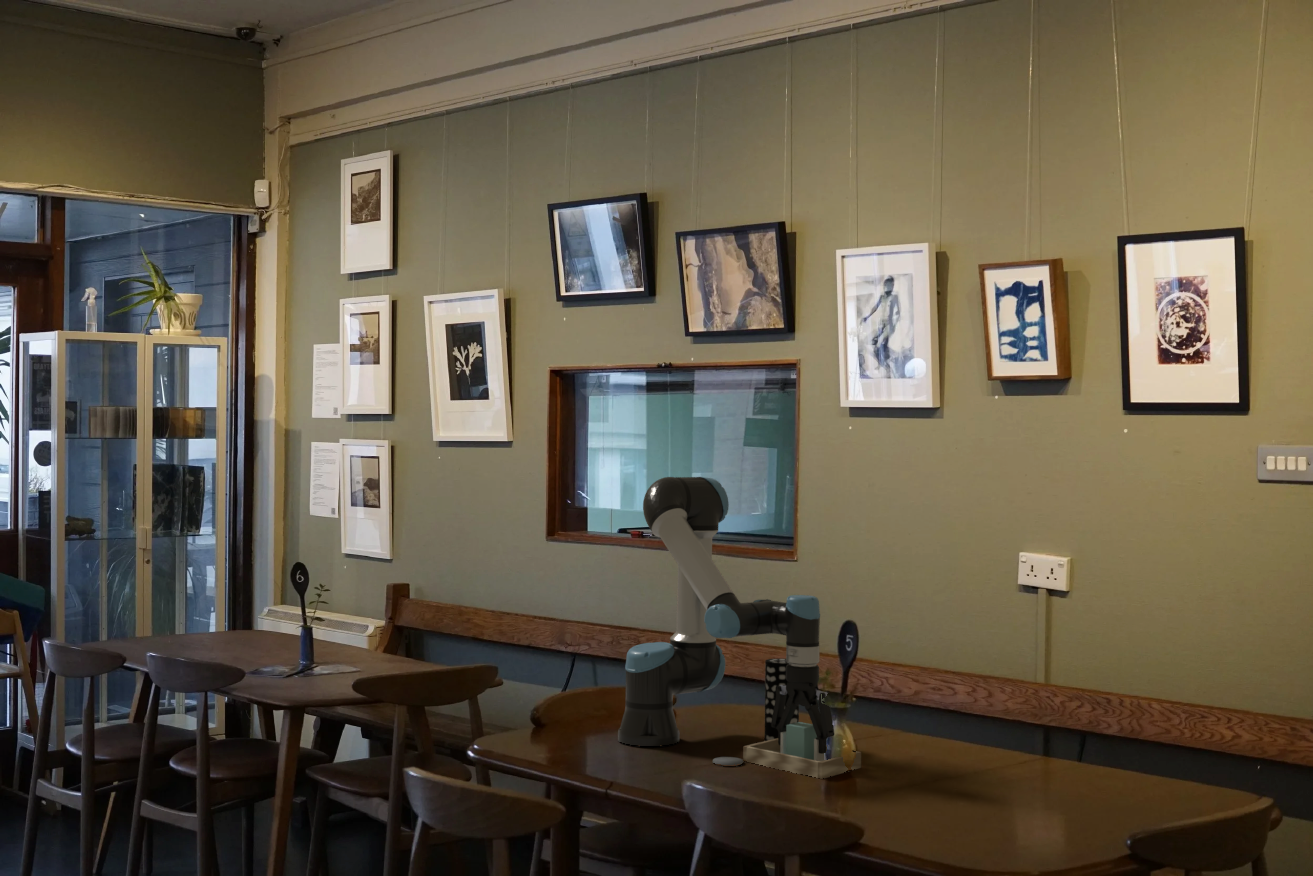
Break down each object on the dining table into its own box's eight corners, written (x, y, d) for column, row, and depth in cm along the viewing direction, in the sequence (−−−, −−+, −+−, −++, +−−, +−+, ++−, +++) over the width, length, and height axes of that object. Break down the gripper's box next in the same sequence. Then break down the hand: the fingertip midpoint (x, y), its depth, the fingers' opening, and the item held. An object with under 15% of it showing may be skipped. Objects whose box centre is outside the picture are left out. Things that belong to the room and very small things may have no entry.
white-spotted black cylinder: (798, 740, 309) (799, 659, 310) (798, 747, 301) (799, 664, 301) (764, 738, 310) (765, 658, 310) (764, 746, 302) (765, 663, 302)
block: (786, 765, 283) (786, 725, 283) (799, 761, 287) (799, 722, 287) (803, 768, 280) (804, 728, 280) (817, 765, 283) (817, 725, 283)
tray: (743, 761, 285) (743, 746, 285) (783, 751, 296) (783, 736, 296) (821, 779, 270) (821, 763, 270) (860, 767, 281) (861, 752, 281)
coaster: (706, 763, 284) (706, 760, 284) (726, 758, 289) (726, 755, 289) (729, 768, 279) (730, 765, 279) (749, 763, 284) (749, 760, 284)
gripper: (755, 660, 288) (754, 758, 288) (831, 671, 274) (831, 775, 273) (775, 657, 294) (774, 753, 293) (851, 667, 279) (850, 769, 278)
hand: (801, 763), depth 283 cm, fingers open, 9 cm apart
